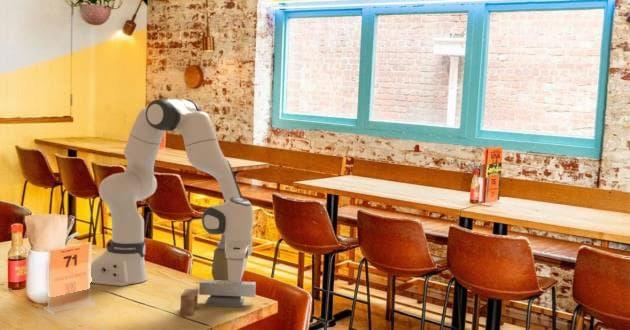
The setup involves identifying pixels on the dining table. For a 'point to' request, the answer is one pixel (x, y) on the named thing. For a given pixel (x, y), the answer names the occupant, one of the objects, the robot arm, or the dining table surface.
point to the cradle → (224, 301)
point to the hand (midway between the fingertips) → (237, 289)
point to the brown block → (189, 301)
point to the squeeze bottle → (220, 262)
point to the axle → (226, 288)
